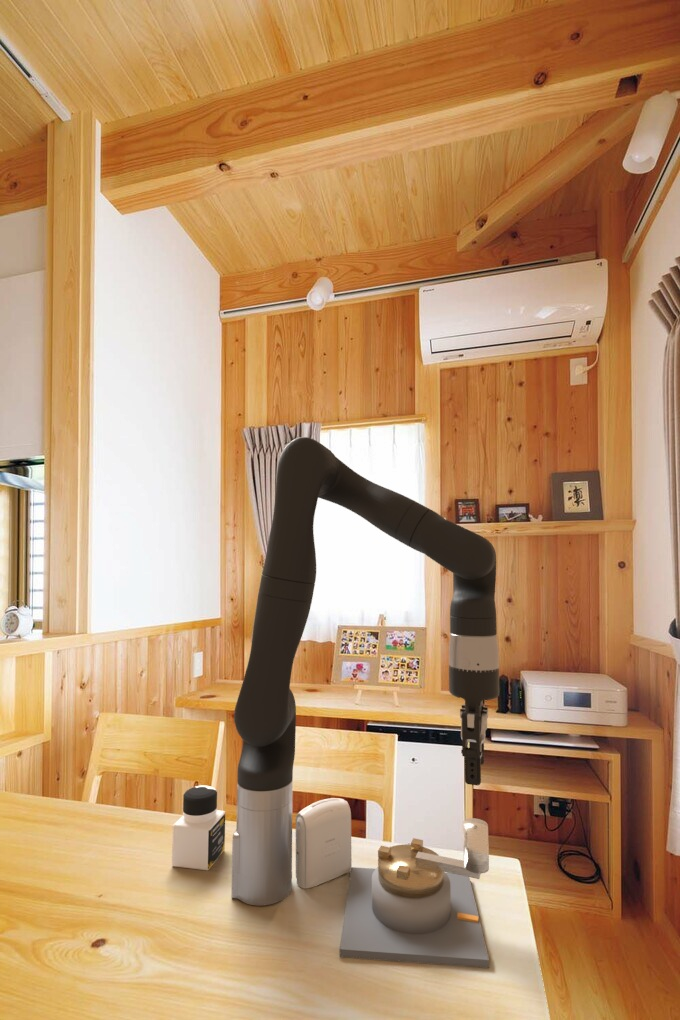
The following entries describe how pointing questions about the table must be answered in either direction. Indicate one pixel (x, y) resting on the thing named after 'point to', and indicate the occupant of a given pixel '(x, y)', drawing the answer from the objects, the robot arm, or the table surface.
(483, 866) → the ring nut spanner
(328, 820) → the photo printer
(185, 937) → the table surface
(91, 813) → the table surface
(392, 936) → the plate
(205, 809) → the medicine bottle
